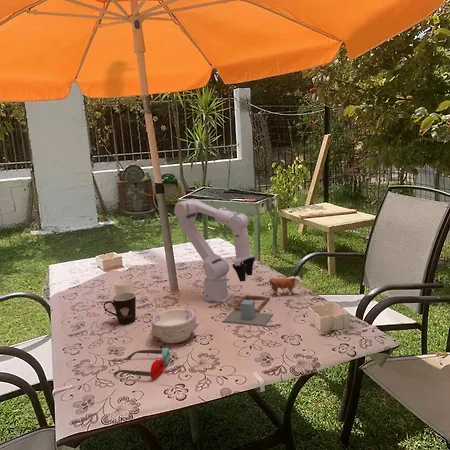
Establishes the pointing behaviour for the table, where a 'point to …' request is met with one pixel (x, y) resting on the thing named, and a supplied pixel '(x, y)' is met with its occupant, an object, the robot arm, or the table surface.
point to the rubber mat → (258, 320)
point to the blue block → (247, 309)
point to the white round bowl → (174, 325)
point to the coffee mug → (124, 307)
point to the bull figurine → (285, 284)
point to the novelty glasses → (154, 368)
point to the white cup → (124, 286)
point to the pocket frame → (266, 299)
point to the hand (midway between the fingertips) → (246, 278)
